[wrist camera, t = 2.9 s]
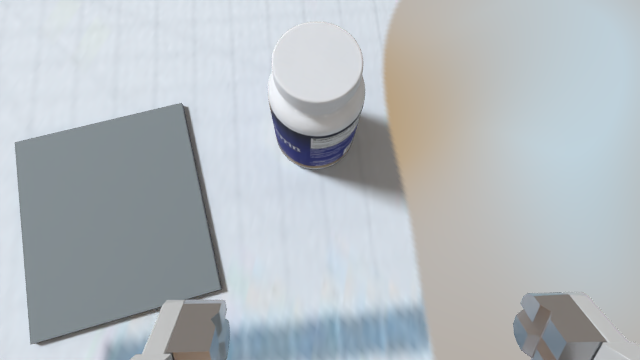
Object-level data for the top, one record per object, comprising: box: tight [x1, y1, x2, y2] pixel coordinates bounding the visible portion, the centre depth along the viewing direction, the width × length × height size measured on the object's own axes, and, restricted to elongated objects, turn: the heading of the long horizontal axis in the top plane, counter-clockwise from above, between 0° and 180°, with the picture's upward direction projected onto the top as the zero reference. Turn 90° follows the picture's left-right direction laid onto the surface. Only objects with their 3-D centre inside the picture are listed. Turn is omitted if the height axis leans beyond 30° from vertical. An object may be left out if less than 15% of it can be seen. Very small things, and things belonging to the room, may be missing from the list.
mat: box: [15, 103, 222, 344], centre depth 26 cm, size 14×12×1 cm
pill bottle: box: [268, 22, 365, 169], centre depth 24 cm, size 6×6×10 cm
